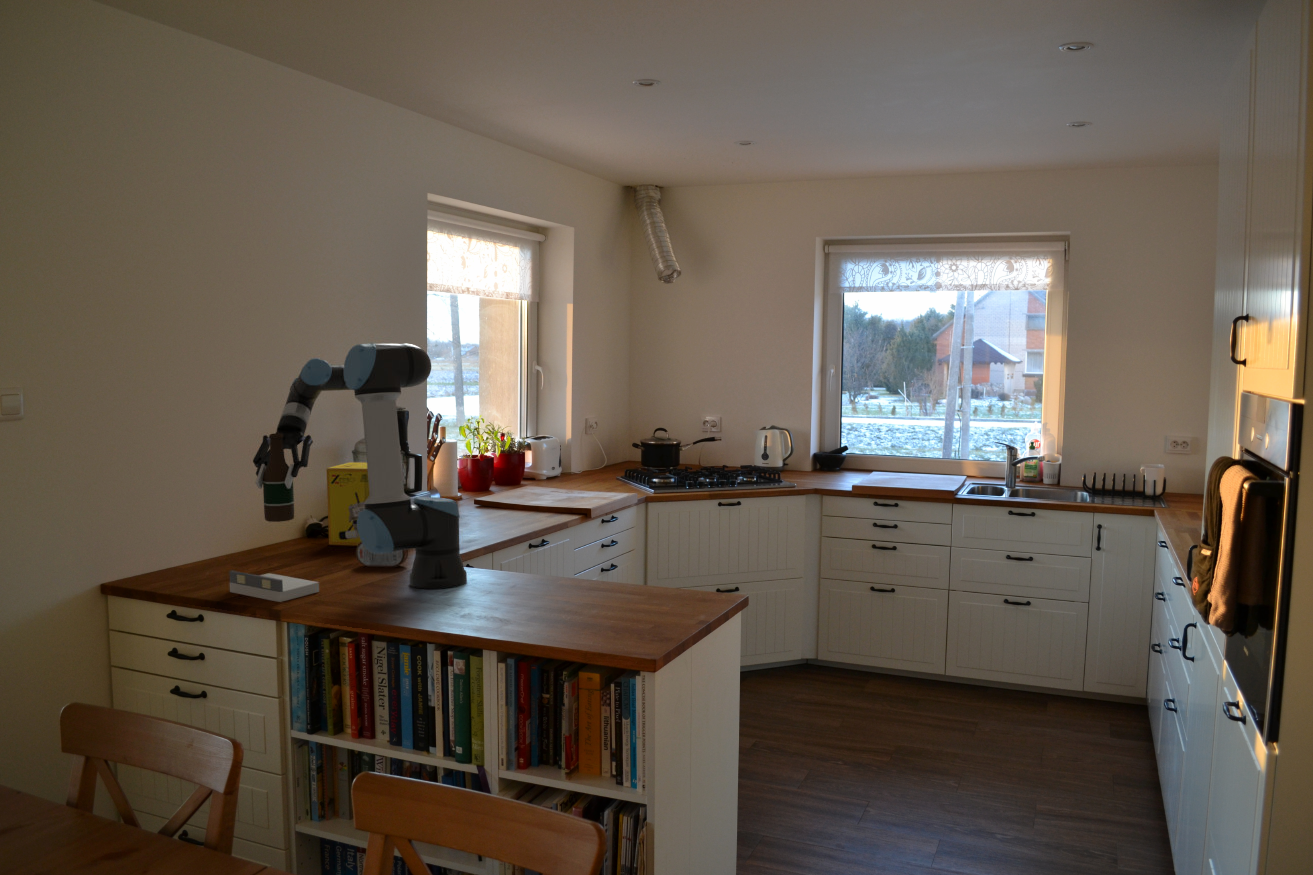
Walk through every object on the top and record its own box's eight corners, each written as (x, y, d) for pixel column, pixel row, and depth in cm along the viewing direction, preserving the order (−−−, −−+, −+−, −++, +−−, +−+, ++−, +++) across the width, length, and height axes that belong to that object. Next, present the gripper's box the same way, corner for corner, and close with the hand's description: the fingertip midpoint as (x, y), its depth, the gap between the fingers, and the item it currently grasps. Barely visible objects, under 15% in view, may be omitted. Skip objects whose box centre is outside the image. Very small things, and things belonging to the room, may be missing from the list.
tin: (408, 566, 281) (408, 537, 281) (405, 568, 278) (404, 539, 277) (359, 565, 283) (358, 536, 282) (354, 567, 280) (353, 538, 279)
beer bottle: (258, 520, 267) (254, 434, 265) (281, 516, 274) (277, 432, 272) (278, 522, 263) (274, 435, 261) (300, 518, 270) (297, 433, 268)
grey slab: (319, 591, 252) (318, 570, 251) (279, 602, 241) (278, 580, 241) (269, 582, 262) (268, 562, 261) (229, 591, 252) (228, 571, 251)
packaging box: (376, 546, 309) (374, 468, 307) (329, 544, 312) (326, 468, 309) (397, 536, 325) (395, 462, 323) (352, 535, 328) (350, 462, 325)
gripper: (331, 430, 281) (313, 493, 267) (263, 430, 282) (241, 493, 267) (324, 413, 276) (305, 477, 261) (254, 413, 276) (231, 477, 261)
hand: (272, 485), depth 264 cm, fingers closed on beer bottle, 7 cm apart
